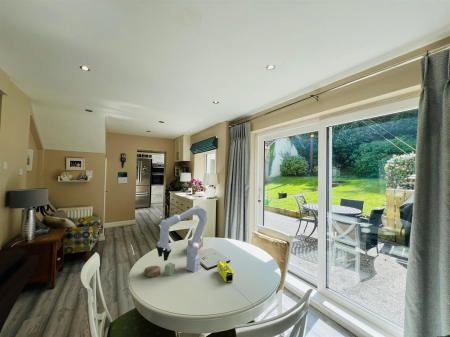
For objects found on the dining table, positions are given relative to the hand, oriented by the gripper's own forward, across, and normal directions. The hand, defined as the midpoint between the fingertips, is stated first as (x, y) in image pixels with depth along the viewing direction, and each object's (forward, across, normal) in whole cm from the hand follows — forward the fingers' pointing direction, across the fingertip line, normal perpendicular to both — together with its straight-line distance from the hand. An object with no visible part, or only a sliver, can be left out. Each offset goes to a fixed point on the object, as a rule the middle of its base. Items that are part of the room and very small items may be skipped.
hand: (162, 258), depth 135 cm
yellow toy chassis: (+9, +30, +29) cm, 43 cm away
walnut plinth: (+10, -4, -5) cm, 12 cm away
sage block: (+10, +3, +4) cm, 11 cm away
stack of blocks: (+9, -17, +40) cm, 45 cm away
